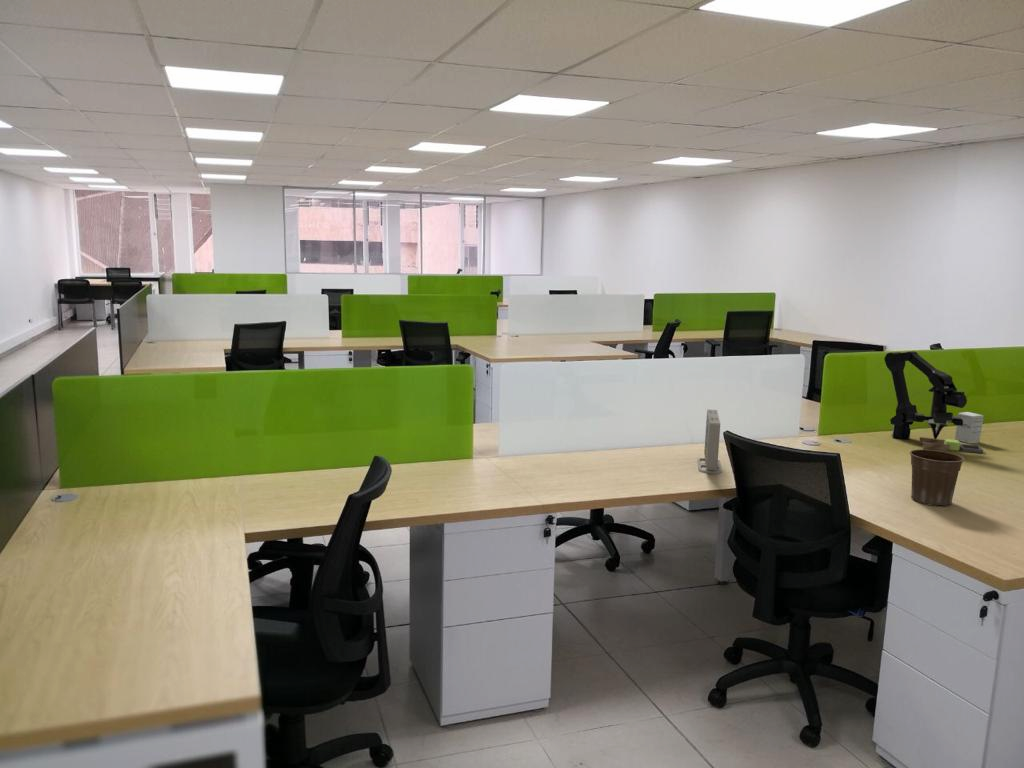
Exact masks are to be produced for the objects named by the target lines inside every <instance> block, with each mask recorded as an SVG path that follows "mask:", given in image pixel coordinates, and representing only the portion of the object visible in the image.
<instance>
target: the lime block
mask: <svg viewBox="0 0 1024 768" xmlns="http://www.w3.org/2000/svg"><path fill="white" fill-rule="evenodd" d="M944 439H945V441H944V444H949V445H950V448H949V451H950V450H951V451H960V448H959V446H960V444H961V441H958V440H955V439H948V438H947V439H946V438H944Z"/></svg>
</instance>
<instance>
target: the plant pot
mask: <svg viewBox="0 0 1024 768" xmlns="http://www.w3.org/2000/svg"><path fill="white" fill-rule="evenodd" d="M909 455H910V465H911V493H910V495H911V496H910V497H911V499H912V498H913V499H912V500H914V501H915V502H917V501H918V502H917V503H920V502H921V503H920V504H923V503H925V504H924V505H927V504H931V505H930V506H935V505H936V506H938V505H940V506H941V505H942V507H947V506H950V505H951V504H952V503H953V497H954V493H955V489H956V485H957V480H958V476H959V472H960V471H961V467H962V464H963V462H964V461H965V458H964V457H963V456H961V455H958V454H957V453H952V452H950V451H944V450H933V449H923V448H922V449H920V448H919V449H913V450H910V451H909Z"/></svg>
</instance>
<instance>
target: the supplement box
mask: <svg viewBox="0 0 1024 768" xmlns="http://www.w3.org/2000/svg"><path fill="white" fill-rule="evenodd" d="M957 417H961V418H962V420H963V426H960V425H956V429H955V435H954V440H958V441H959V442H963V443H967V444H968V445H971V444H978V443H980V442H981V436H982V435H981V434H982V429H983V422H984V421H983V420H984V414H978V413H975V412H970V411H965V412H964V411H963V412H958V414H957Z"/></svg>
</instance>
